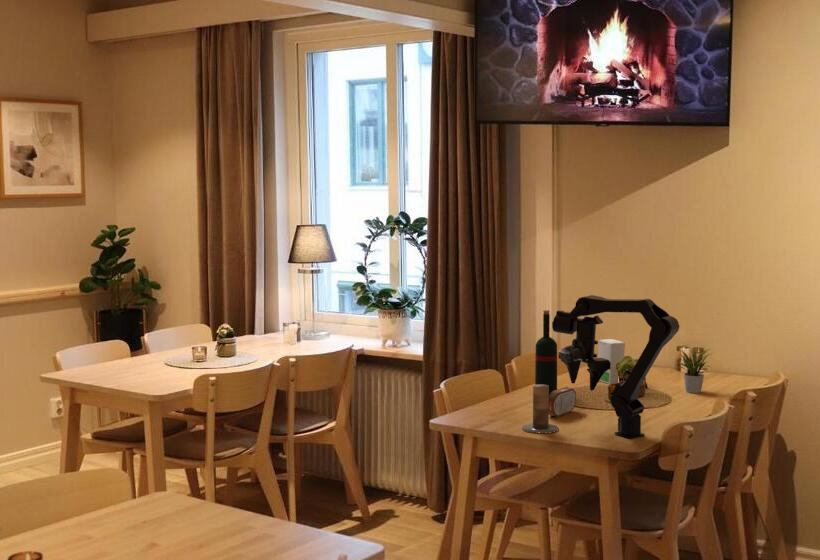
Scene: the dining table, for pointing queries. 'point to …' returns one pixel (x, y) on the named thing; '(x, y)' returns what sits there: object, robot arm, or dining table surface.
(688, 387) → the house plant
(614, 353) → the skincare box
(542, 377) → the wine bottle
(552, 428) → the coaster
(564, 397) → the tin
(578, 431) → the dining table surface
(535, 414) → the pepper mill
